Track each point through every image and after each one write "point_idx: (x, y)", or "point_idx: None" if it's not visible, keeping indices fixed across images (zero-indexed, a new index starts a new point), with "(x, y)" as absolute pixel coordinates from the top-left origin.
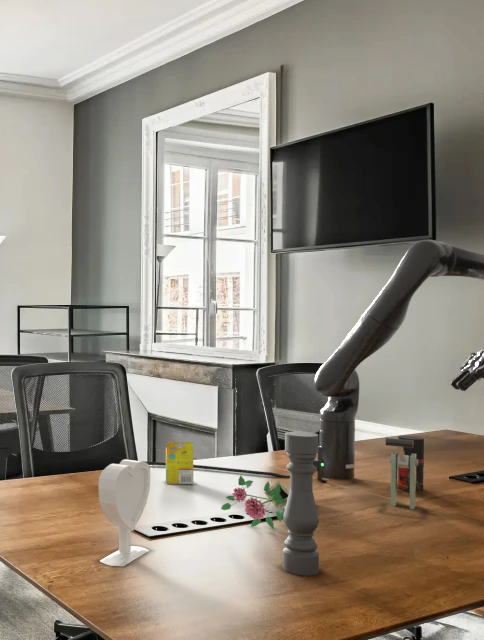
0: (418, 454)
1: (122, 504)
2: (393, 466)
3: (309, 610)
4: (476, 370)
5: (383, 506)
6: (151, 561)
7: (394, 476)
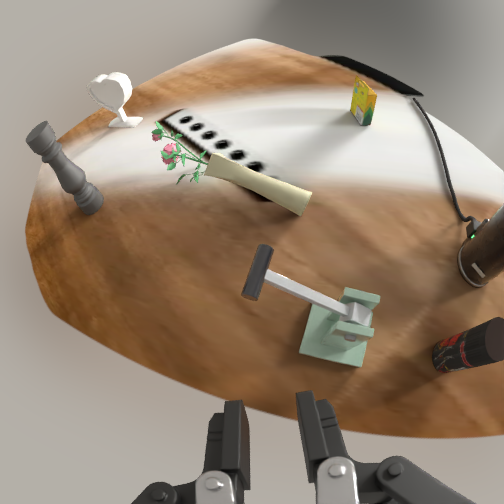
0: (470, 356)
1: (102, 98)
2: (339, 298)
3: (43, 210)
4: (164, 487)
5: None
6: (114, 133)
7: None
